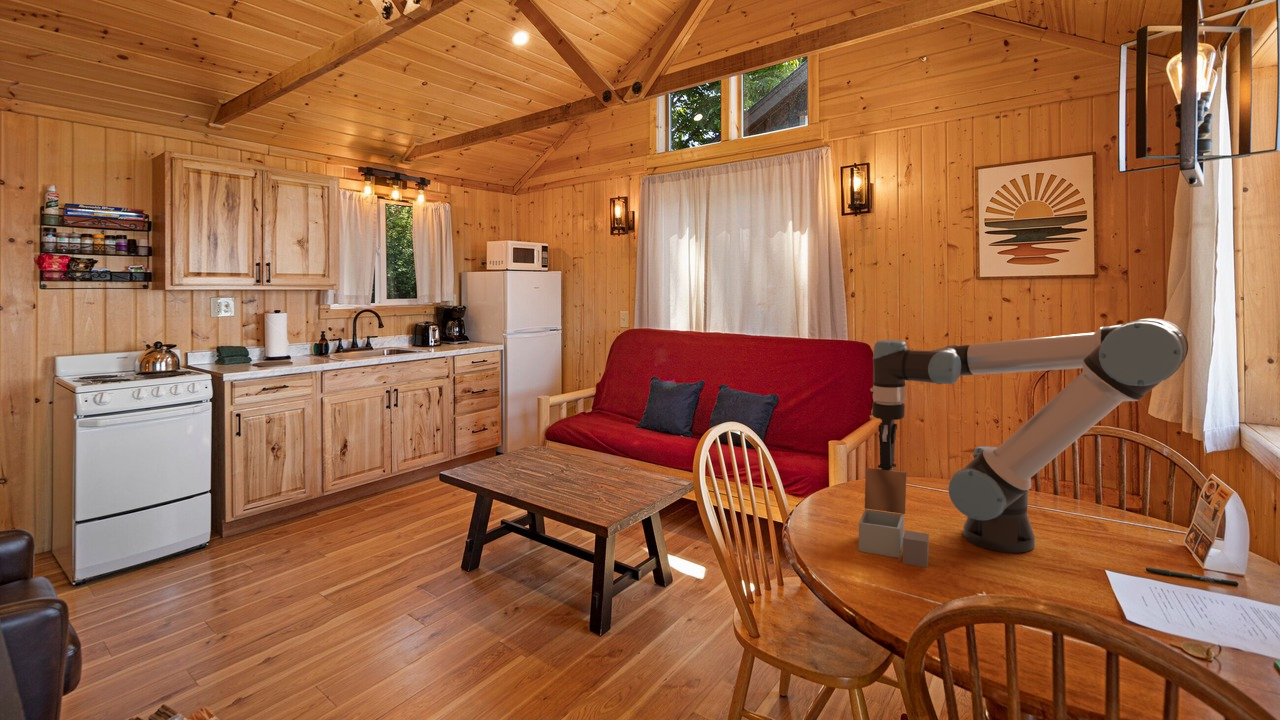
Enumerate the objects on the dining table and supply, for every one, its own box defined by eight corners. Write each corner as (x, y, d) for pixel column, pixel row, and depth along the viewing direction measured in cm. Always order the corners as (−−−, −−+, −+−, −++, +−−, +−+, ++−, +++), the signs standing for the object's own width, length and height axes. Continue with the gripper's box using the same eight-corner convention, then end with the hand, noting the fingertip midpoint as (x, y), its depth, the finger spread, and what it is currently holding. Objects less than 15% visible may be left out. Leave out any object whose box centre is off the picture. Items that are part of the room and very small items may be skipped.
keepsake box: (903, 541, 149) (903, 514, 149) (899, 557, 141) (899, 529, 140) (864, 535, 154) (865, 509, 153) (858, 551, 145) (858, 522, 144)
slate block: (928, 558, 140) (928, 533, 139) (926, 567, 136) (927, 542, 135) (904, 554, 142) (905, 530, 142) (902, 563, 138) (903, 538, 137)
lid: (904, 514, 149) (905, 513, 149) (906, 472, 149) (906, 472, 149) (864, 508, 153) (865, 507, 154) (865, 468, 153) (866, 467, 154)
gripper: (876, 396, 159) (874, 482, 163) (868, 405, 148) (866, 498, 152) (907, 398, 156) (905, 486, 159) (901, 408, 145) (899, 502, 148)
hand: (886, 491), depth 155 cm, fingers closed
